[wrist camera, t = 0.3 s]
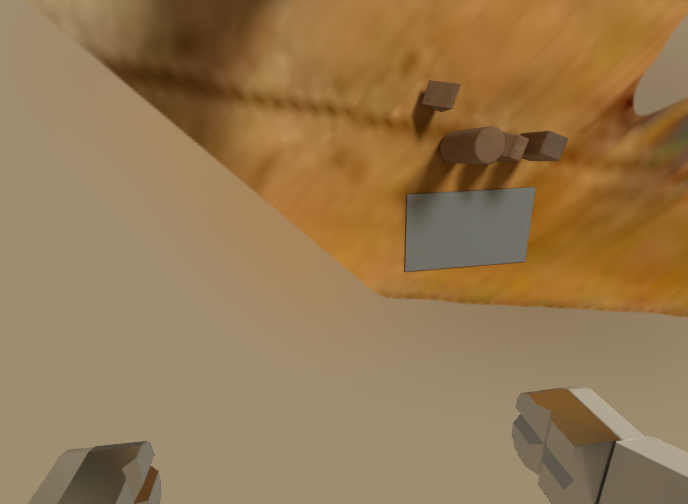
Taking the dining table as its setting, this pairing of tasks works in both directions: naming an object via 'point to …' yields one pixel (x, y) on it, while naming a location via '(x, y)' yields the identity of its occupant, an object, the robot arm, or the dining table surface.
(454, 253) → the mat
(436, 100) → the wooden block set
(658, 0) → the dining table surface
